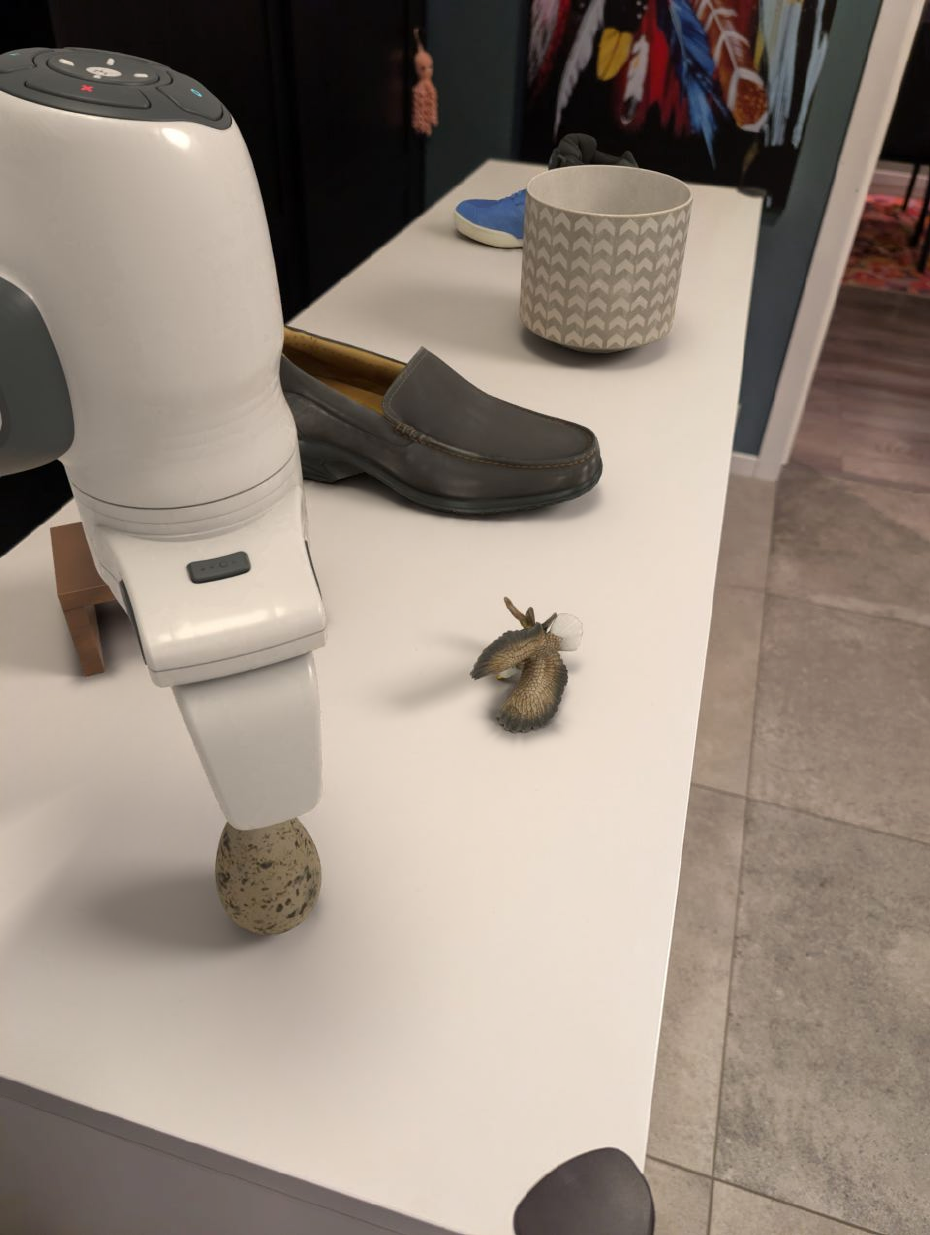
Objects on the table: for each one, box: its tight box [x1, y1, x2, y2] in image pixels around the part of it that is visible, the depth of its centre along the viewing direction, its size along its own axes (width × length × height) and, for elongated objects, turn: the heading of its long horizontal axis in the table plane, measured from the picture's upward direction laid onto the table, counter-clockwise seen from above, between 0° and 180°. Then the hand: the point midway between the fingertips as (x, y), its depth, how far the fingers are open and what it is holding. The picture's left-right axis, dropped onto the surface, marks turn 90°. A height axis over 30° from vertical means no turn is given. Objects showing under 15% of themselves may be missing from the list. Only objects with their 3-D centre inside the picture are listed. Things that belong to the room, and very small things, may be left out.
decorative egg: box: [214, 817, 322, 936], centre depth 55 cm, size 6×6×10 cm
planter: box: [519, 165, 694, 354], centre depth 115 cm, size 19×19×18 cm
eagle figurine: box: [469, 596, 584, 734], centre depth 71 cm, size 8×7×9 cm
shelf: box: [49, 521, 117, 677], centre depth 77 cm, size 18×9×8 cm, turn 112°
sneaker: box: [452, 132, 642, 249], centre depth 142 cm, size 12×29×16 cm, turn 71°
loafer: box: [279, 324, 604, 516], centre depth 92 cm, size 13×36×13 cm, turn 76°
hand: (246, 739), depth 48 cm, fingers open, 8 cm apart
